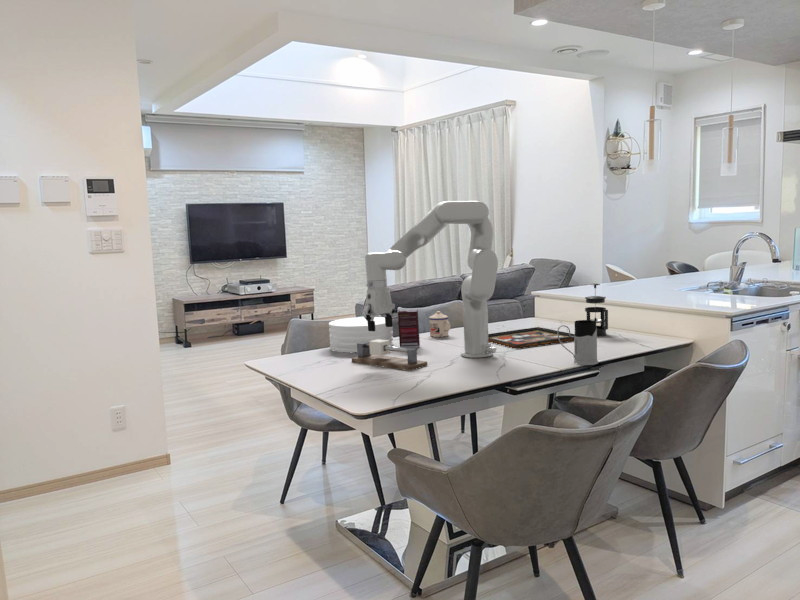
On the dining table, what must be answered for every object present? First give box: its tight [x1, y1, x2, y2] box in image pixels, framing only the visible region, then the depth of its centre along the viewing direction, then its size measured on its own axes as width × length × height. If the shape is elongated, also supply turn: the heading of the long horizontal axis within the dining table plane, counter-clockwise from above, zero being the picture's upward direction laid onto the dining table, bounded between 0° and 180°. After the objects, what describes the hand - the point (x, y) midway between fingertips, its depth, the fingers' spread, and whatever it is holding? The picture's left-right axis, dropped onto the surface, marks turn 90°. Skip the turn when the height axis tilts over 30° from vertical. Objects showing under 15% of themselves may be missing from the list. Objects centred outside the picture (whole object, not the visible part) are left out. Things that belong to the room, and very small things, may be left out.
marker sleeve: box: [369, 339, 391, 356], centre depth 244 cm, size 6×5×5 cm
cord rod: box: [356, 342, 418, 364], centre depth 241 cm, size 28×4×6 cm, turn 49°
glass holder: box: [556, 319, 599, 366], centre depth 229 cm, size 9×14×15 cm, turn 79°
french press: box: [584, 283, 609, 337], centre depth 283 cm, size 12×9×23 cm
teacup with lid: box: [428, 310, 451, 338], centre depth 298 cm, size 12×9×12 cm
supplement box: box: [397, 309, 421, 349], centre depth 273 cm, size 9×5×16 cm, turn 84°
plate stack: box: [328, 316, 394, 353], centre depth 279 cm, size 28×28×12 cm
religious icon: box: [488, 326, 575, 349], centre depth 280 cm, size 38×35×3 cm
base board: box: [351, 354, 428, 371], centre depth 241 cm, size 30×10×2 cm, turn 49°
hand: (380, 328), depth 243 cm, fingers open, 9 cm apart
